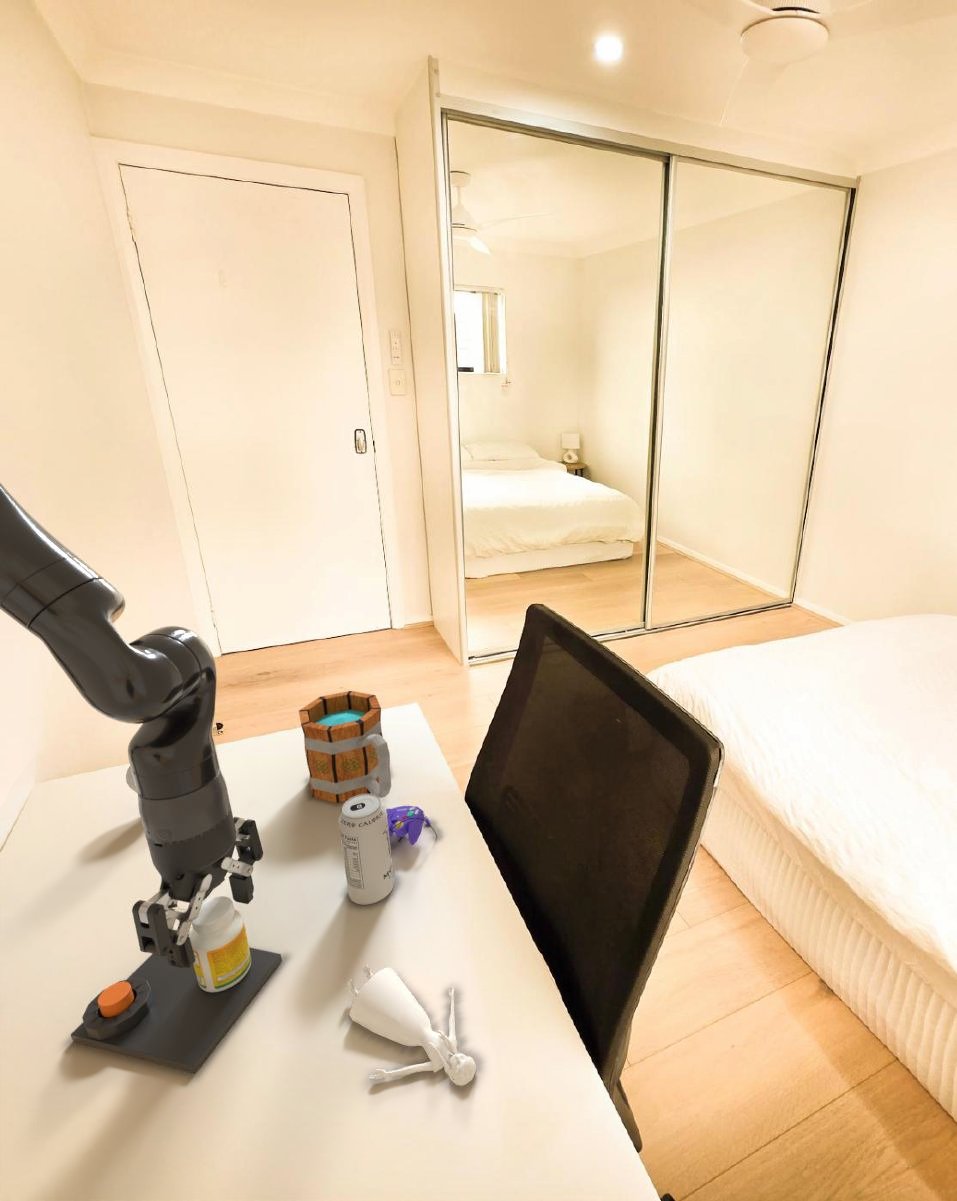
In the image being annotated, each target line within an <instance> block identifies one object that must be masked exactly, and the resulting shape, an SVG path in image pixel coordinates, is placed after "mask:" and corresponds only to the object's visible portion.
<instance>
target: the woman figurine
mask: <svg viewBox="0 0 957 1201" xmlns="http://www.w3.org/2000/svg"><path fill="white" fill-rule="evenodd" d="M363 972H364V975H365V977H366V979H367V981H366V982H365V983H364V984H363V985H362V987H361V988H360V989H357V988H356V986H355V985H354V982H353V979H350V980H349V981H348V982H347V983H346V984H347V985H346V987H347V990H348V992H349V994H351V996H353V998H354V999H353V1001H352V1005H351V1007H350V1010H349V1012H348V1016H349V1017H350V1019H351V1020H352V1021H353V1022H355V1023H356V1024H358V1025H359V1026H362V1027H363V1028H365V1029H367V1030H369V1031H370V1032H371V1033H374V1034H376V1035H379V1036H381V1037H383V1038H385V1039H388V1040H390V1041H392V1042H395V1043H397V1044H401V1045H403V1046H407V1047H422V1048H423V1049H424V1051H425V1053H426V1055H427V1057H428V1058H429V1061H427V1062H424V1063H423V1062H422V1063H418V1064H412V1065H408V1066H404V1067H402V1068H399V1069H395V1070H389V1071H387V1070H385V1069H383V1068H376V1071H378V1073H376V1074H370V1076H369V1079H372V1080H380V1079H383V1078H390V1077H395V1076H404V1075H412V1074H414V1073H419V1072H420V1073H421V1072H433V1074H435V1073H437V1072H438V1071H440V1070H442V1069H443V1070H444V1072H445V1074H447V1076H448V1077H449V1078H450V1081H452V1083H454V1084H455V1085H456V1086H461V1087H462V1086H465V1085H468V1084H469V1083H470V1082H471V1081H472V1080H473V1079H474V1076H475V1074H476V1071H477V1065H476V1063H475V1059H473V1057H472V1056H469V1055H468V1056H467V1055H465V1054H463V1053H461V1052H459V1051H458V1048H457V1047H458V1044H459V1041H457V1037H456V1023H455V1022H456V1018H455V989H454V986H453V985H452V986H451V989H448V995H449V998H450V1014H449V1019H448V1036H447V1035H446V1034H445V1032H444V1031H442V1030H439V1029H438V1030H437V1031H438V1032H437V1031H433V1028H432V1024H431V1023H432V1022H431V1019H430V1017H429V1016H428V1014H427V1012H426V1011H425V1009H424V1008H423V1007H422V1005H421V1004H420V1003H419V1001H418V1000H417V999H416V997H415V996H414V995H413V994H412V992H411V990H410V989H409V988H408V987H407V986H406V984H405V983H404V982H403V980H402V979H401V977H400V976H399V975H398V974H397V972H396V971H395V970H394V969H392V968H391V967H389V966H387V967H385V968H381V969H379V970H378V971H377V972H375V973H374V974H373V972H372V971H371V969H370V966H369V965H368V964H366V966H364V967H363Z"/></svg>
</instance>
